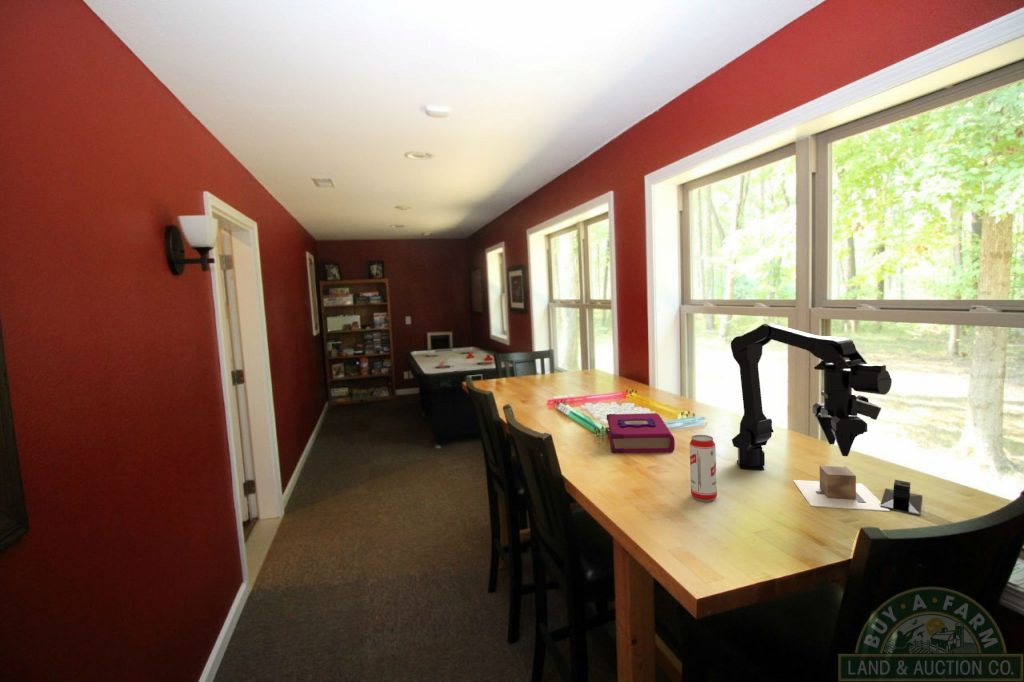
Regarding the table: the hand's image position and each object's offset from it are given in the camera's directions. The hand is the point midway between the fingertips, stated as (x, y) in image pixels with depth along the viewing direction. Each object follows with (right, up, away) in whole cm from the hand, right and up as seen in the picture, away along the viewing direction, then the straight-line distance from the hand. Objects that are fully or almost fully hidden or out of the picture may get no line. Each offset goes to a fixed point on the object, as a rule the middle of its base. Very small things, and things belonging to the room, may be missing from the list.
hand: (838, 449), depth 116 cm
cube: (+1, -11, +1) cm, 11 cm away
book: (-35, -10, +55) cm, 66 cm away
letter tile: (+1, -12, +1) cm, 12 cm away
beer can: (-32, -14, +5) cm, 35 cm away
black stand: (+12, -12, -5) cm, 17 cm away
